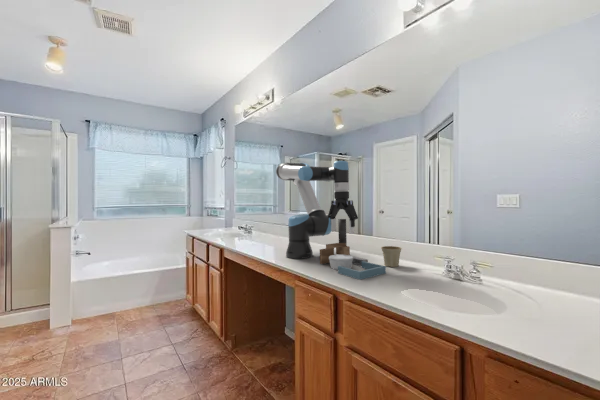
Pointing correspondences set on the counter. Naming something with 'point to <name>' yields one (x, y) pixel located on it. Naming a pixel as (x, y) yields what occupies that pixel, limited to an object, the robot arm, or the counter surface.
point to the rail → (358, 261)
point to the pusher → (336, 244)
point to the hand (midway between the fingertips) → (342, 232)
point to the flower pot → (391, 255)
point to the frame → (370, 272)
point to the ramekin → (340, 261)
